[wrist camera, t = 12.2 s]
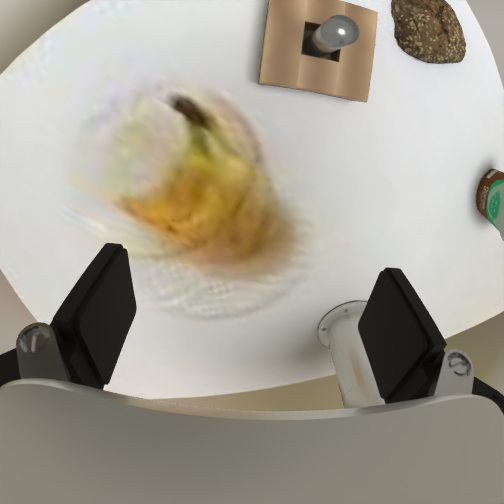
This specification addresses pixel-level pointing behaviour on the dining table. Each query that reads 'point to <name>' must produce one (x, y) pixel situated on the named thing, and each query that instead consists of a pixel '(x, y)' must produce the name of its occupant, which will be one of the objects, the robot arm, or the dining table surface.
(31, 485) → the robot arm
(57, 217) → the dining table surface
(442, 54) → the bread roll
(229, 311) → the dining table surface
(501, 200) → the food container
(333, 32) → the pin
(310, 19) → the bore block
